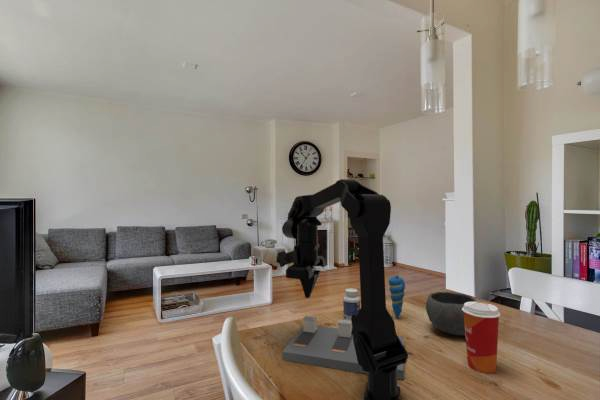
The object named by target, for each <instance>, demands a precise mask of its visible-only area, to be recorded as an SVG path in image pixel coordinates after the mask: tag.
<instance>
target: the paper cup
mask: <svg viewBox="0 0 600 400" xmlns="http://www.w3.org/2000/svg"><path fill="white" fill-rule="evenodd" d="M462 311H464V324H465V335H464V336H465V345H466V346H465V347H466V349H465V350H466V358H467V359H466V360H467V365H468V367H469V368H470V369H472V370H473V371H476V372H478V373H482V374H494V373H495V372H496V370H497V361H498V341H499V320H500V319H499V317H501V313H500V312H499V308H498V307H497V306H495V304H490V303H486V302H479V301H478V302H466V303H464V307H463V308H462Z"/></svg>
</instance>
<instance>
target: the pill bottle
mask: <svg viewBox="0 0 600 400" xmlns="http://www.w3.org/2000/svg"><path fill="white" fill-rule="evenodd" d="M344 294H345V295H344V297H343V301H342V303H343V320H348V321H351V317H352V315H353V314H357V313H359V311H360V309H361V297H359V296H358V295H359V293H358V289H356V288H346V289H345V293H344Z"/></svg>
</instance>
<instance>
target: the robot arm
mask: <svg viewBox="0 0 600 400" xmlns="http://www.w3.org/2000/svg"><path fill="white" fill-rule="evenodd" d="M338 203H340V206H341V207H342V208H343V209H344V210H345V211H346V212H347V213H348V217H349V222H350V226H351V228H352V230H353V231H354V233H355V234H356V236H357V237H358V260H359V262H358V263H359V264H358V265H359V284H360V285H359V286H360V289H359V290H360V311H359V313H357V314H353V315H352V317H351V322H352V332H351V335H353V342H354V347H355V351H356V356H357V361H358V364H359V365H360V366H362V370H363V371H366V372H367V374H366V375H367V382H366V387H365V391H364V396H363V400H401V387H400V385H398V384H399V383H398V379H397V366H398V365H401V364H404V365H405V364H407V361H408V358H409V353H408V351H407V350H406V348H405V345H404V346H403V345H402V343H401V341H400V339H399V338H398V336H399V335H398V333H397V330H396V324H395V321H394V318H393V317H392V315H391V313H390V312H389V311H388V309H387V302H386V301H387V300H386V279H385V274H386V273H385V255H384V254H385V252H384V236H385V234H386V232H387V229H388V228H389V226H390V223H391V215H392V214H391V212H392V206H391V201H390V200H389V199H388V198H387V197H386V196H385V195H384V194H379V193H378V192H377V191H375V190H373V189H371V188H369V187H367V186H366V185H363V184H361V182H359V181H357V180H355V179H345V178H341V179H339V180H336V181H335V182H334V183H333V184H331V185H329V186H327V187H325V188H323V189H321V190H319V191H317V192H314V193H313V194H307V195H305V194H303V195H299V196H296V197H295V198H294V201H292V204H291V208H290V209H289V212H288V213H287V220H285V222H284V223H283V225H282V227H281V231H282V234H283V235H284V237H286V238H288V239H294V240H297V241H296V245H294V246H293V250H292V251H288V252H286V251H285V250H283V251H279V252H277V254H276V257H275V258H276V260H275V262H276V263H277V264H278V265H279V267H280V268H283V267H285V266H288V265H289V264H292V265H290V266H288V267H287V268H286V269H285V278H286V279H293V280H294V279H297V280H299V281H300V284H301V287H302V290H303V294H304V297H305V299H310V298H311V294H312V293H313V291H314V288H315V286H316V283H317V281H318V278H319V276H320V273H321V272H322V271H321V270H320V269H317V266H321V268H325V267H326V266H327V263H326V261H327V260H326V258H325V257H324V256H323V255H322V256H320V255H319V254H318V252H319V251H318V250H319V249H320V244H319V243H318V227H319V226H322V222H321V221H320V220H319V219H318V218H317V217H318V216H321V214H323V213H324V212H325V208H328V207H331V206H333V205H335V204H338ZM385 351H386V352H385ZM382 352H384V353H382ZM379 353H381V354H379ZM376 354H378V355H376ZM374 355H375V356H374Z"/></svg>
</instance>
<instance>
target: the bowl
mask: <svg viewBox="0 0 600 400" xmlns="http://www.w3.org/2000/svg"><path fill="white" fill-rule="evenodd" d="M466 302H478V303H479V301H478V300H477V299H476V298H474V297H473V296H472V295H468V294H466V293H465V294H464V293H460V292H459V293H458V292H450V291H436V292H433V293H430V294H428V297H427V299H426V302H425V310H426V315H427V317H428V319H429V321H430V323H432V325H433V326H435V327H436V328H437V329H438V330H440V331H441V332H444V333H447V334H450V335H455V336H465V324H464V311H462V308H463V307H464V303H466Z"/></svg>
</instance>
